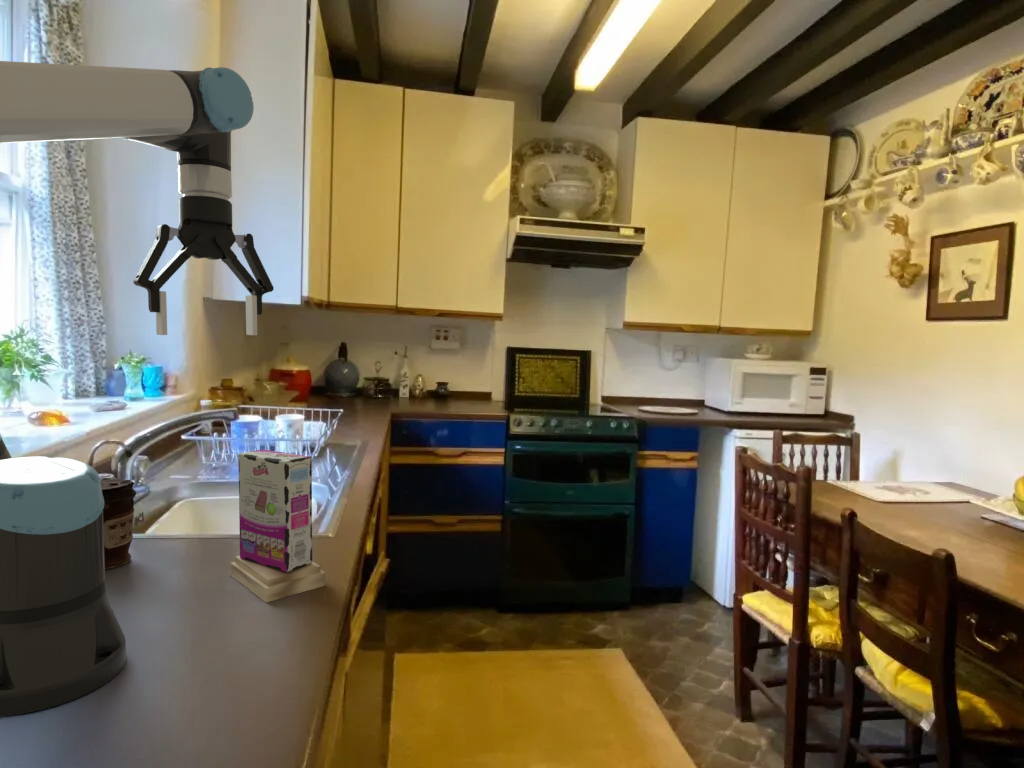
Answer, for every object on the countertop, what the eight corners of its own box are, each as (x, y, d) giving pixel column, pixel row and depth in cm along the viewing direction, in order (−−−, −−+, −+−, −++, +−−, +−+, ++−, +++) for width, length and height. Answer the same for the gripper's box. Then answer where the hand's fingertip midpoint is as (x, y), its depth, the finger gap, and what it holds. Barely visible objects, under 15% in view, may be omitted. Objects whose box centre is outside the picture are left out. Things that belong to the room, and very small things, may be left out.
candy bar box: (314, 563, 97) (313, 456, 95) (287, 574, 93) (286, 462, 91) (265, 549, 103) (264, 447, 101) (238, 558, 98) (235, 452, 97)
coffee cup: (152, 555, 107) (149, 478, 106) (116, 574, 99) (113, 491, 98) (103, 552, 108) (100, 476, 107) (63, 571, 100) (60, 489, 98)
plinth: (265, 602, 90) (265, 581, 90) (230, 575, 99) (230, 556, 99) (325, 585, 96) (325, 566, 96) (286, 561, 106) (286, 543, 105)
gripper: (273, 211, 112) (275, 334, 114) (107, 188, 95) (112, 334, 97) (293, 206, 106) (294, 335, 108) (120, 181, 89) (125, 335, 91)
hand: (208, 335), depth 102 cm, fingers open, 13 cm apart
